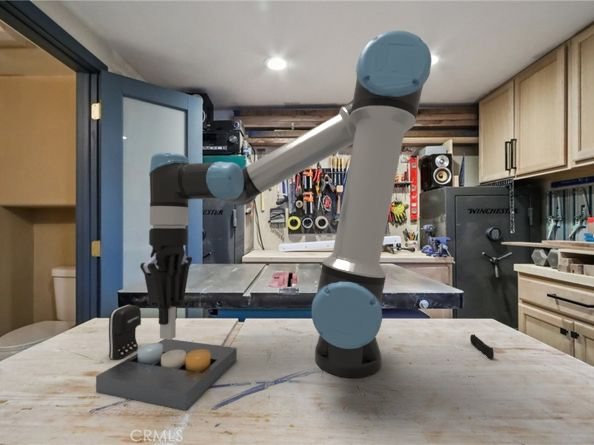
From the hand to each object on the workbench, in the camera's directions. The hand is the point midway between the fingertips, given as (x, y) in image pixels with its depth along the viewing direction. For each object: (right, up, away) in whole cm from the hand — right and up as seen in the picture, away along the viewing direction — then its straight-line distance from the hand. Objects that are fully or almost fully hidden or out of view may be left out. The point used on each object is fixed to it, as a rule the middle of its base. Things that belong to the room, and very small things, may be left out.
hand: (167, 337), depth 59 cm
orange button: (+7, -5, -2) cm, 9 cm away
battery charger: (-15, -8, +9) cm, 19 cm away
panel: (+1, -8, 0) cm, 8 cm away
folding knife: (+74, -8, +11) cm, 75 cm away
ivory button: (+1, -6, 0) cm, 6 cm away
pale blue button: (-4, -5, +1) cm, 7 cm away
